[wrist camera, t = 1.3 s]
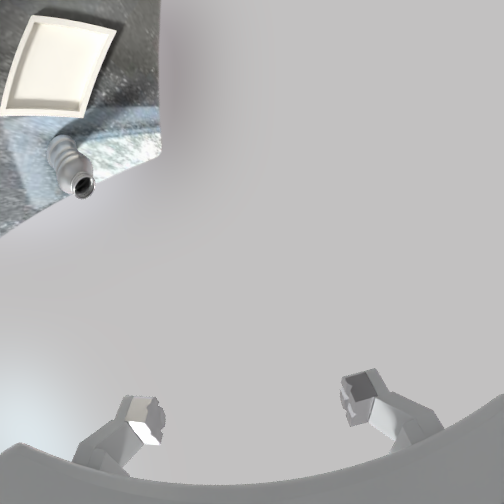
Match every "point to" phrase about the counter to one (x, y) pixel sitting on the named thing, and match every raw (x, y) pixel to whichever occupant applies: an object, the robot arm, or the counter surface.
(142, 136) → the counter surface
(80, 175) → the plastic bottle
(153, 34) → the counter surface
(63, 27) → the ceramic dish
